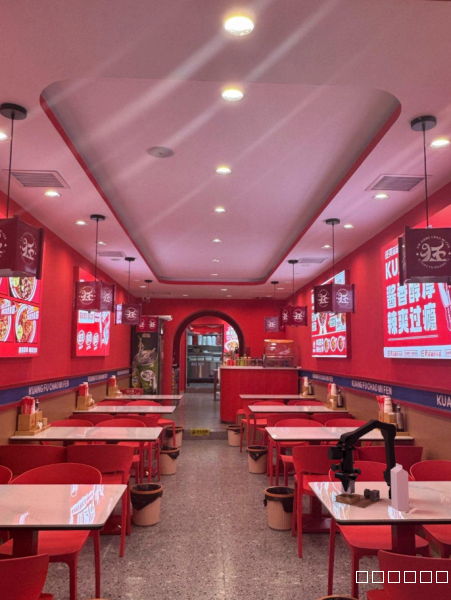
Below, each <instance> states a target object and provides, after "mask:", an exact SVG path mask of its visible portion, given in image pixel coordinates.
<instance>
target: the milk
mask: <svg viewBox="0 0 451 600" xmlns="http://www.w3.org/2000/svg"><path fill="white" fill-rule="evenodd" d="M409 493H410V491H409V472H408V471H407V470H405V469H403V465H402V464H399V463H397V462H396V467H394V468H393V469H391V499H390V500H391V501H390V502H391V508H392V509H394V510H395V511H397V512H402V511H403V512H404V514H409V513H410V498H409V497H410V494H409Z"/></svg>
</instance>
